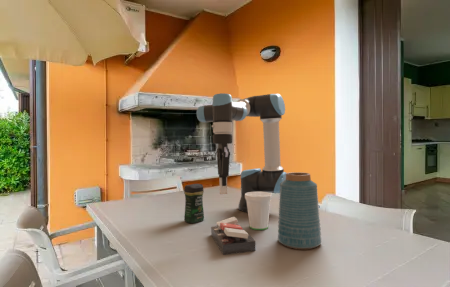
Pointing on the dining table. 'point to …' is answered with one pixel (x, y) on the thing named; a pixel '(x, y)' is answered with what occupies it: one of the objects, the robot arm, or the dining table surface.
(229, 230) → the rocker
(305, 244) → the vase
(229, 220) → the rocker
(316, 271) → the dining table surface
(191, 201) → the coffee jar
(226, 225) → the rocker
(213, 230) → the rocker switch panel
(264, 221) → the cup
